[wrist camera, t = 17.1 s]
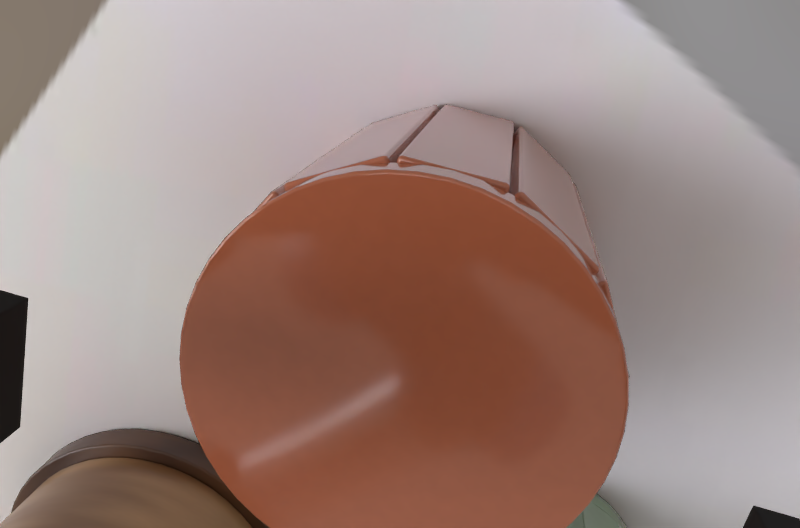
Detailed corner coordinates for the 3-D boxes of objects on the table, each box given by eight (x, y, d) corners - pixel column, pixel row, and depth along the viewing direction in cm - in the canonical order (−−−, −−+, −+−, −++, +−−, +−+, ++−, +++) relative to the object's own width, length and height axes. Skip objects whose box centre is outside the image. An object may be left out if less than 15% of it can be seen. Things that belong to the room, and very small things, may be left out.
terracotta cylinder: (286, 333, 26) (155, 510, 17) (337, 75, 23) (210, 114, 14) (538, 405, 25) (548, 631, 16) (626, 149, 22) (702, 245, 13)
